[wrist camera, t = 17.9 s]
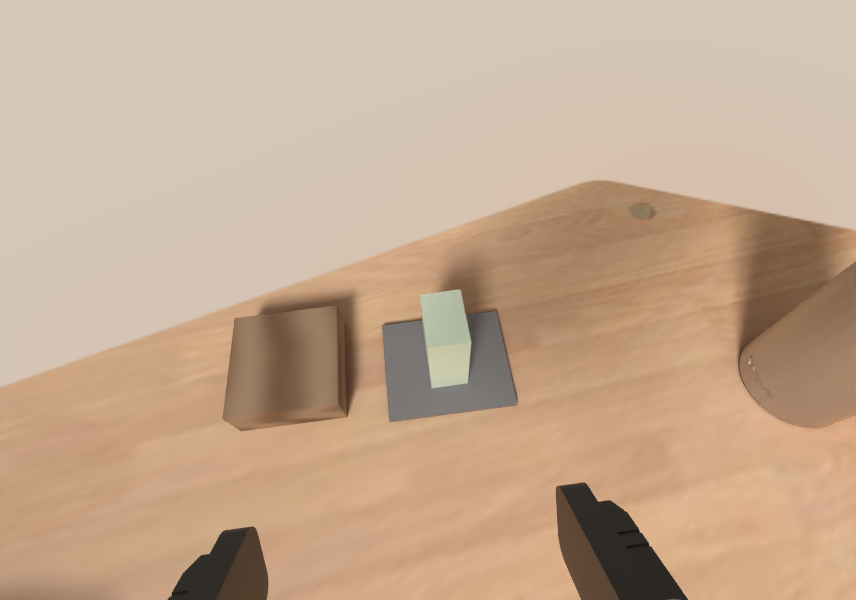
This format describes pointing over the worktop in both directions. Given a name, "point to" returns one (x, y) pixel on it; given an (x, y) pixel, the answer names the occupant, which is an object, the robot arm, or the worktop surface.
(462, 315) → the pale green rectangular block
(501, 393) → the mat
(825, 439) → the worktop surface
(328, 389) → the brown rectangular box
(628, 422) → the worktop surface
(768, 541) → the worktop surface
